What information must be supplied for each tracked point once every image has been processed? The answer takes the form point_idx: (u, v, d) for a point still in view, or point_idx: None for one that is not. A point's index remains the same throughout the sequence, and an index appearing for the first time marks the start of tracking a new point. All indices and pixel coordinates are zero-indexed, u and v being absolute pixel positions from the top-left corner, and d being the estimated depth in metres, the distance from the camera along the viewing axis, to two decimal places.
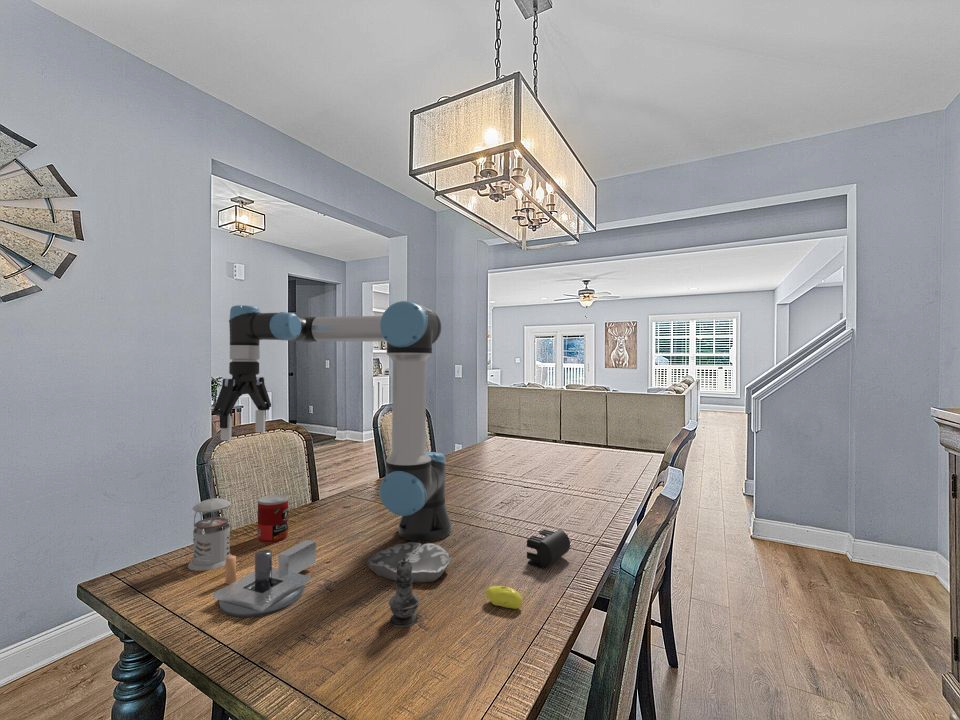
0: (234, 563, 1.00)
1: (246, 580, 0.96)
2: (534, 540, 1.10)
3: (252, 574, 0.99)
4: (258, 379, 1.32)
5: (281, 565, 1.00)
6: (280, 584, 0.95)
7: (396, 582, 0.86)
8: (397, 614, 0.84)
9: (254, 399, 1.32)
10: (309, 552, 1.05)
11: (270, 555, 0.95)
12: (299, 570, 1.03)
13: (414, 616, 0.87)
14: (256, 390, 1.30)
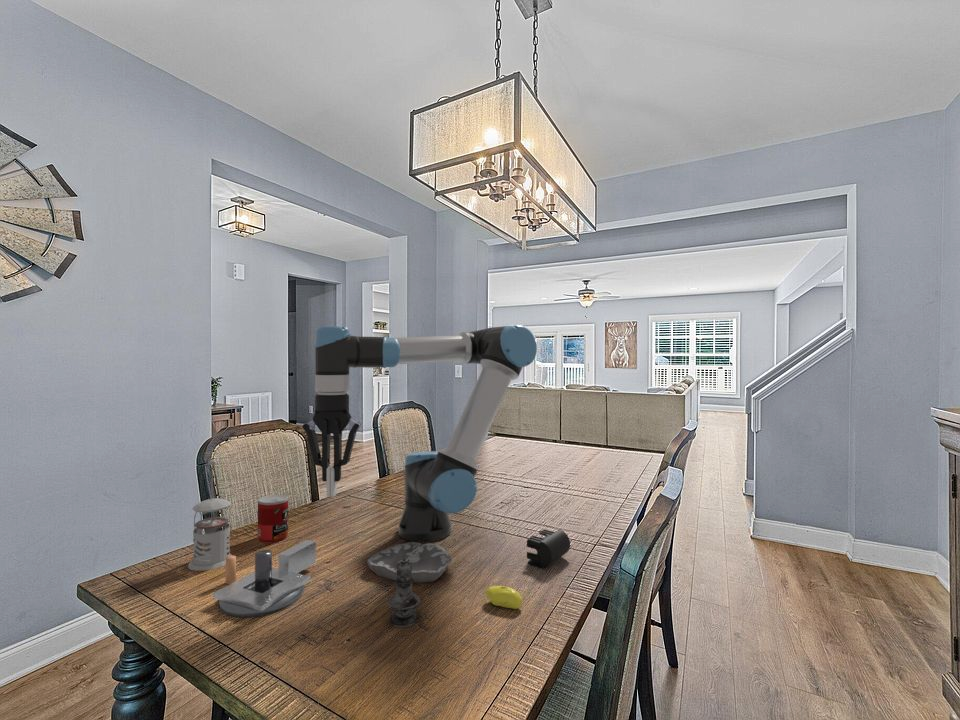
0: (234, 563, 1.00)
1: (246, 580, 0.96)
2: (534, 540, 1.10)
3: (252, 574, 0.99)
4: (353, 423, 1.04)
5: (281, 565, 1.00)
6: (280, 584, 0.95)
7: (396, 582, 0.86)
8: (397, 614, 0.84)
9: None
10: (309, 552, 1.05)
11: (270, 555, 0.95)
12: (299, 570, 1.03)
13: (414, 616, 0.87)
14: (335, 433, 1.03)
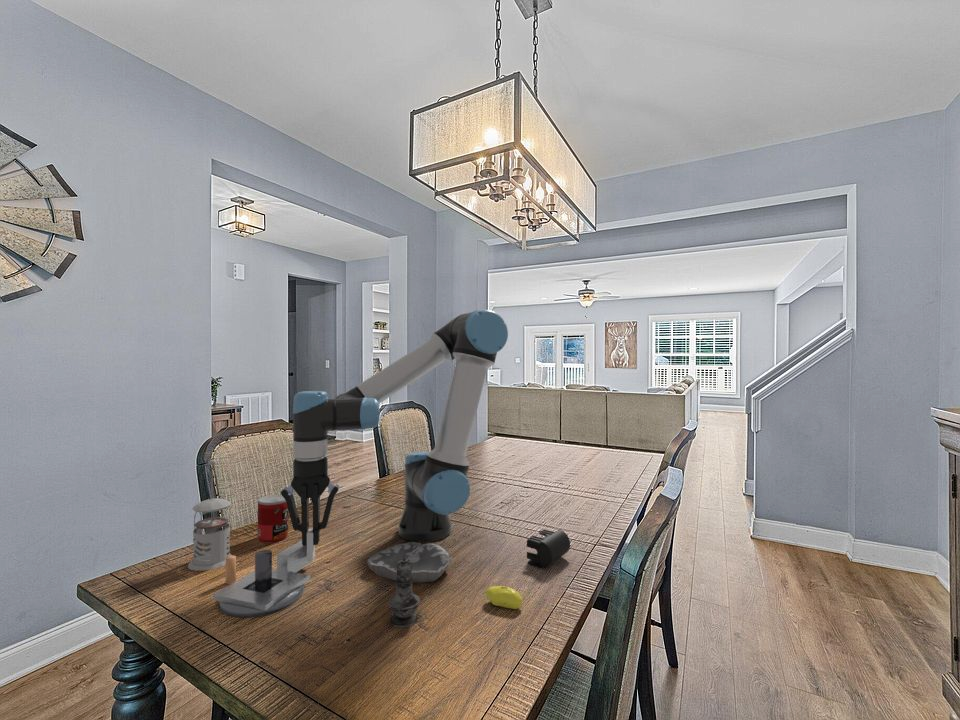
0: (234, 563, 1.00)
1: (245, 581, 0.96)
2: (534, 540, 1.10)
3: (250, 575, 0.99)
4: (332, 486, 1.06)
5: (280, 565, 1.00)
6: (281, 583, 0.95)
7: (396, 582, 0.86)
8: (397, 614, 0.84)
9: None
10: (306, 551, 1.06)
11: (270, 555, 0.95)
12: (297, 569, 1.03)
13: (414, 616, 0.87)
14: (314, 498, 1.04)
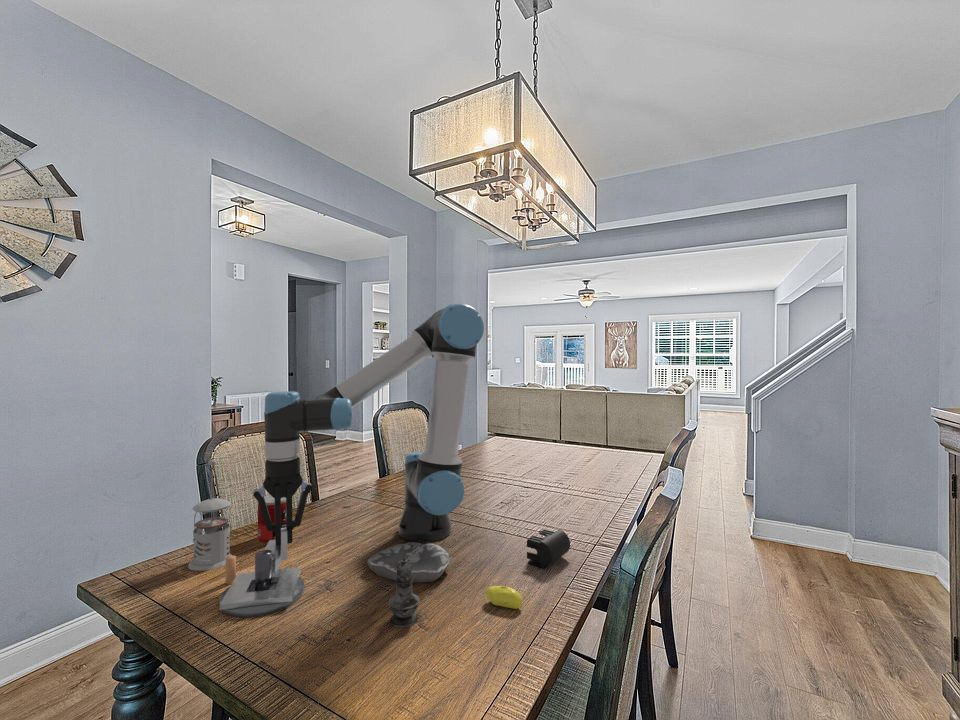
0: (234, 563, 1.00)
1: (238, 587, 0.94)
2: (534, 540, 1.10)
3: (236, 582, 0.96)
4: (305, 484, 1.08)
5: None
6: (281, 579, 0.97)
7: (396, 582, 0.86)
8: (397, 614, 0.84)
9: (286, 508, 1.07)
10: (280, 549, 1.07)
11: (270, 555, 0.95)
12: (277, 567, 1.04)
13: (414, 616, 0.87)
14: (288, 497, 1.05)
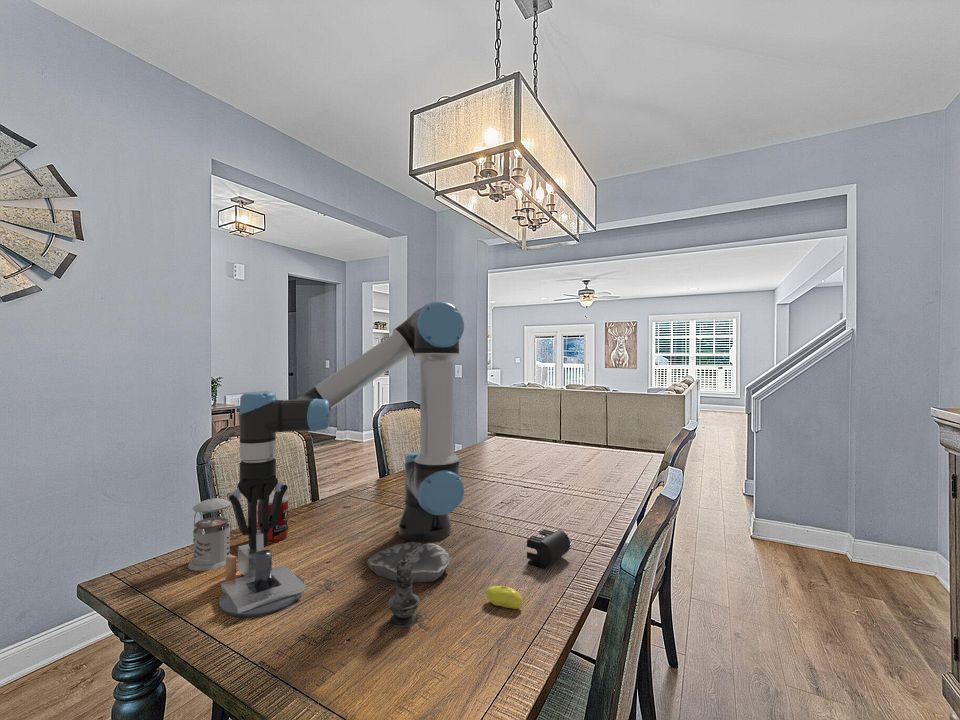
0: (234, 563, 1.00)
1: (238, 592, 0.92)
2: (534, 540, 1.10)
3: (229, 589, 0.93)
4: (280, 485, 1.07)
5: (253, 568, 0.99)
6: (277, 577, 0.98)
7: (396, 582, 0.86)
8: (397, 614, 0.84)
9: (260, 510, 1.05)
10: None
11: (270, 555, 0.95)
12: None
13: (414, 616, 0.87)
14: (265, 498, 1.04)
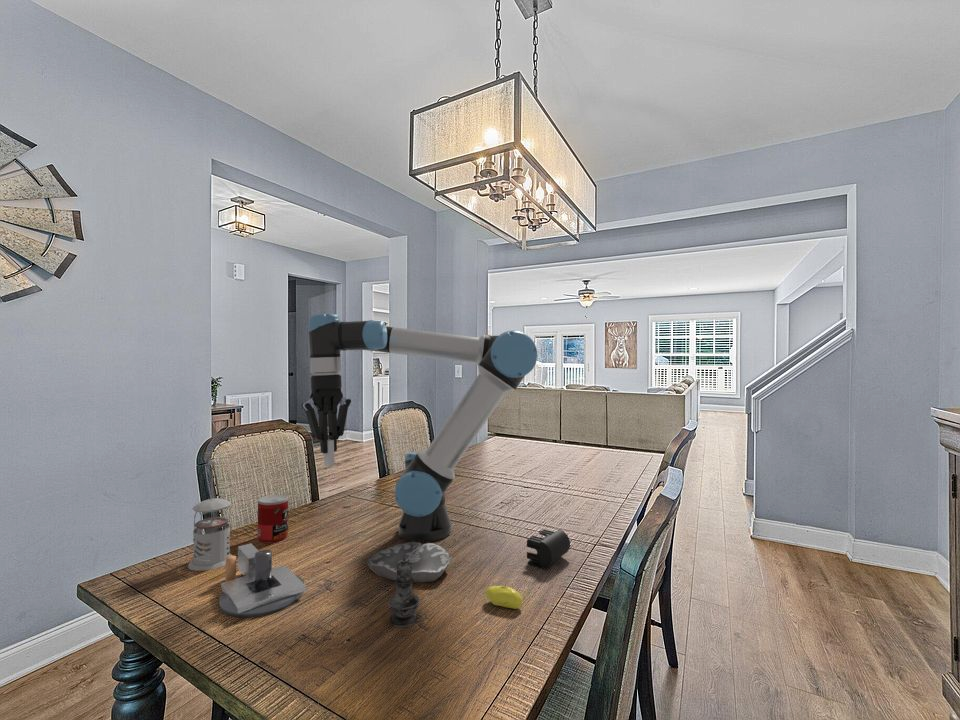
0: (234, 563, 1.00)
1: (238, 592, 0.92)
2: (534, 540, 1.10)
3: (229, 589, 0.93)
4: (345, 399, 1.20)
5: (253, 568, 0.99)
6: (277, 577, 0.98)
7: (396, 582, 0.86)
8: (397, 614, 0.84)
9: (329, 420, 1.18)
10: None
11: (270, 555, 0.95)
12: None
13: (414, 616, 0.87)
14: (334, 408, 1.17)
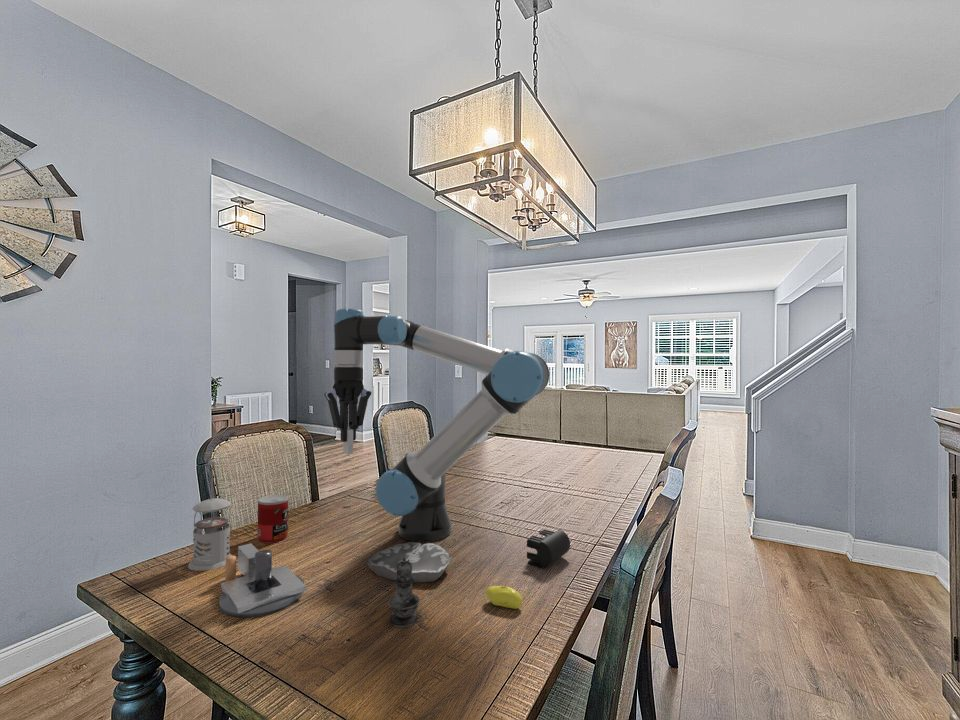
0: (234, 563, 1.00)
1: (238, 592, 0.92)
2: (534, 540, 1.10)
3: (229, 589, 0.93)
4: (365, 391, 1.26)
5: (253, 568, 0.99)
6: (277, 577, 0.98)
7: (396, 582, 0.86)
8: (397, 614, 0.84)
9: (350, 411, 1.23)
10: None
11: (270, 555, 0.95)
12: None
13: (414, 616, 0.87)
14: (355, 399, 1.22)
